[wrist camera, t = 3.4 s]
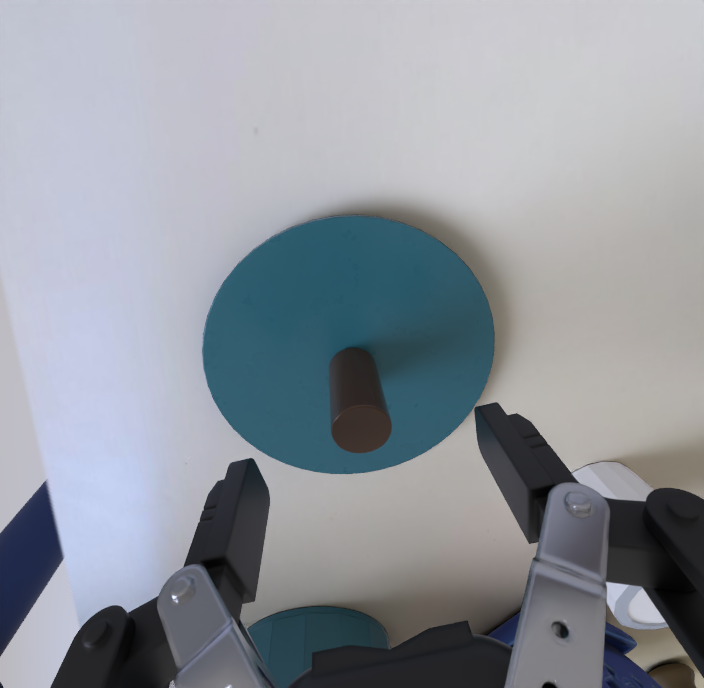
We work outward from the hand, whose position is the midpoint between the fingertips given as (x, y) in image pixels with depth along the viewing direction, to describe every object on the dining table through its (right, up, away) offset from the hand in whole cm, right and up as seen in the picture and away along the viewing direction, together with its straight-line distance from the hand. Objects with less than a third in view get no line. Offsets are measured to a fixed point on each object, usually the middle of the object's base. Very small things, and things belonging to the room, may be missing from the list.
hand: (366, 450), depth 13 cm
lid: (-1, +3, +6) cm, 7 cm away
